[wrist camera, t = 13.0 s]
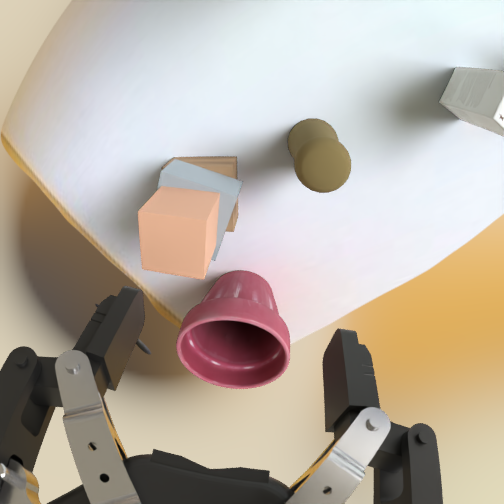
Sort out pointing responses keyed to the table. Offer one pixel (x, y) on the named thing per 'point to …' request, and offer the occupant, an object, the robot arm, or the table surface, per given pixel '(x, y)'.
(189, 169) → the top block
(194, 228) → the cube
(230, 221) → the bottom block
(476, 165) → the table surface
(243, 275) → the plant pot
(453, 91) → the skincare box
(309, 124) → the cork
